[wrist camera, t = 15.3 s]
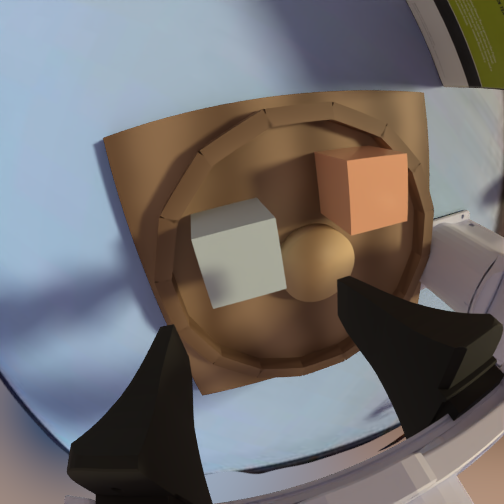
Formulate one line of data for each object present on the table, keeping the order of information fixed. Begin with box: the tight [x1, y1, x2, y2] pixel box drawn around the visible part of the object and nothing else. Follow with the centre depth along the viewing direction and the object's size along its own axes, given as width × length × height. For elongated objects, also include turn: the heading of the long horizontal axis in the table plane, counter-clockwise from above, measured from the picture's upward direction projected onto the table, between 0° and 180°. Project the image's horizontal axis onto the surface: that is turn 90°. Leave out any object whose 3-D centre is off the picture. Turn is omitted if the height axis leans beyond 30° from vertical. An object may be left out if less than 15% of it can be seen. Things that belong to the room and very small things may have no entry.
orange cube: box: [314, 145, 408, 236], centre depth 18 cm, size 5×5×5 cm
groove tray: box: [103, 90, 434, 395], centre depth 22 cm, size 25×25×2 cm
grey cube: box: [191, 198, 287, 309], centre depth 18 cm, size 5×5×5 cm
